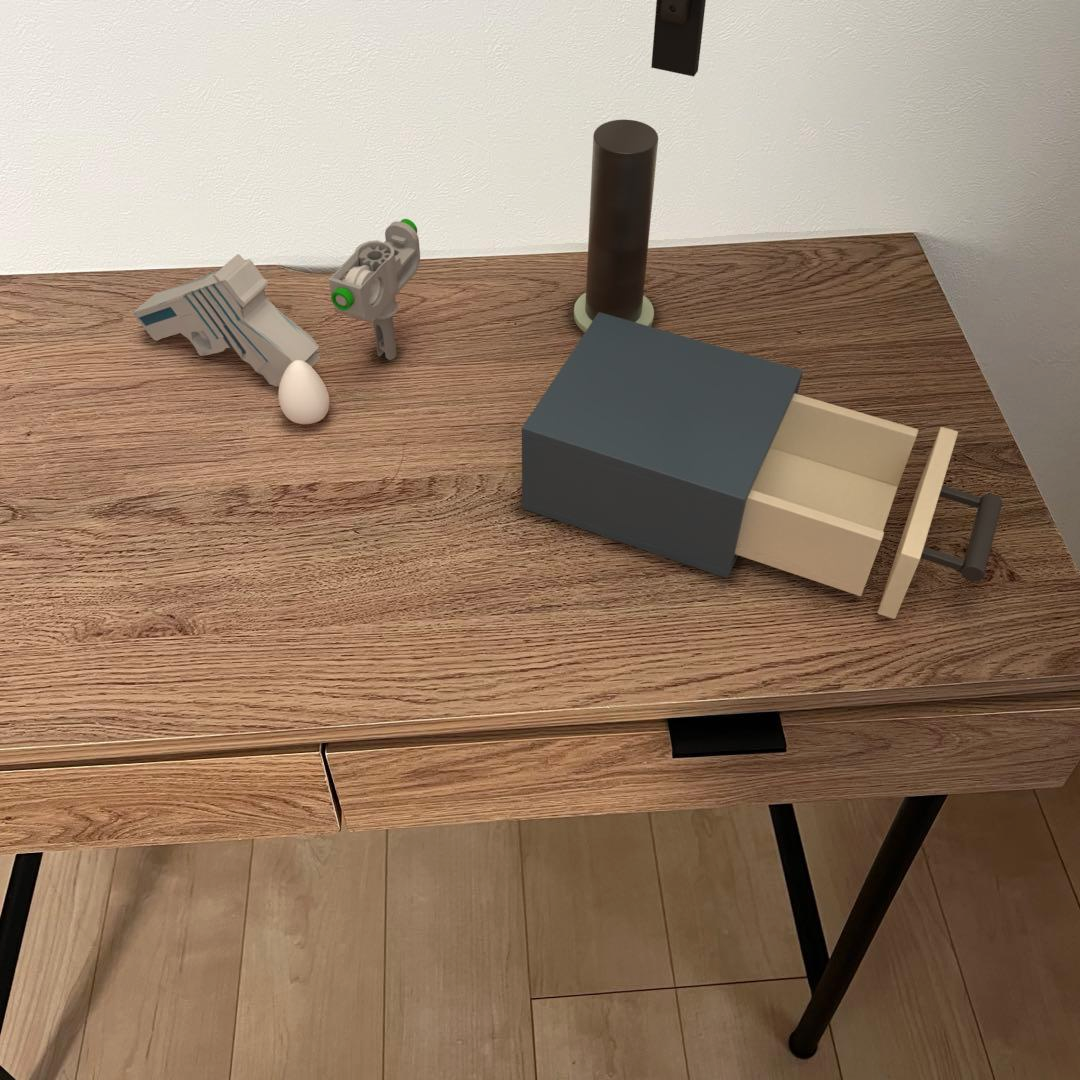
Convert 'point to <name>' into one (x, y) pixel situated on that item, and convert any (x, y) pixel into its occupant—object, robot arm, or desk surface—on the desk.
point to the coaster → (585, 321)
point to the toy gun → (230, 319)
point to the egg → (303, 394)
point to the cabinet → (654, 440)
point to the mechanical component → (378, 281)
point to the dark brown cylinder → (620, 217)
